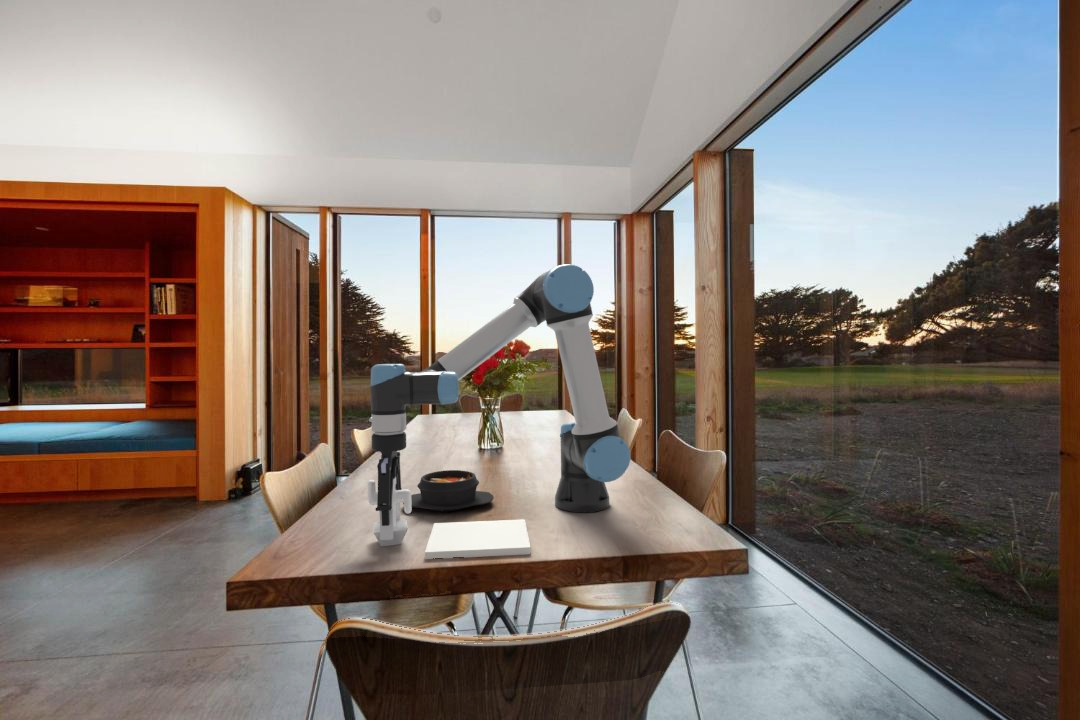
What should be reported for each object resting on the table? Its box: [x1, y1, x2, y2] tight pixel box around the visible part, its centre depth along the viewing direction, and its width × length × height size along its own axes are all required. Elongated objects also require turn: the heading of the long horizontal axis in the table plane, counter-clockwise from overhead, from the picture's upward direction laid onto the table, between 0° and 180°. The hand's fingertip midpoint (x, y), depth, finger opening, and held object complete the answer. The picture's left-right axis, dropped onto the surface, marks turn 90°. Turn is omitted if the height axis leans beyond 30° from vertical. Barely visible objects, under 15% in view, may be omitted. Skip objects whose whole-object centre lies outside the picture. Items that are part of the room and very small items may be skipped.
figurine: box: [367, 477, 413, 547], centre depth 117 cm, size 7×9×15 cm
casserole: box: [402, 469, 495, 512], centre depth 144 cm, size 25×19×8 cm
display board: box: [424, 519, 532, 560], centre depth 117 cm, size 22×18×2 cm
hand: (390, 531), depth 117 cm, fingers closed on figurine, 8 cm apart
